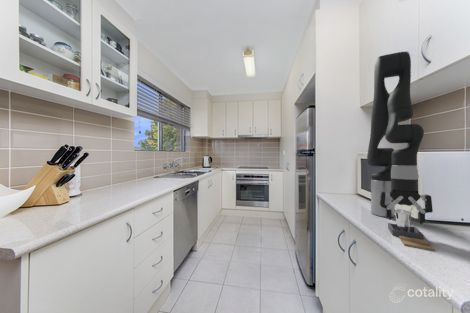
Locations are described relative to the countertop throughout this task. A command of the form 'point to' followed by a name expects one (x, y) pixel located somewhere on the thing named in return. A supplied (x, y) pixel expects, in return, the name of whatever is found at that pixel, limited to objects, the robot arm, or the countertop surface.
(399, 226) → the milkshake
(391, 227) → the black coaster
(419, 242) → the pad
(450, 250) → the countertop surface
